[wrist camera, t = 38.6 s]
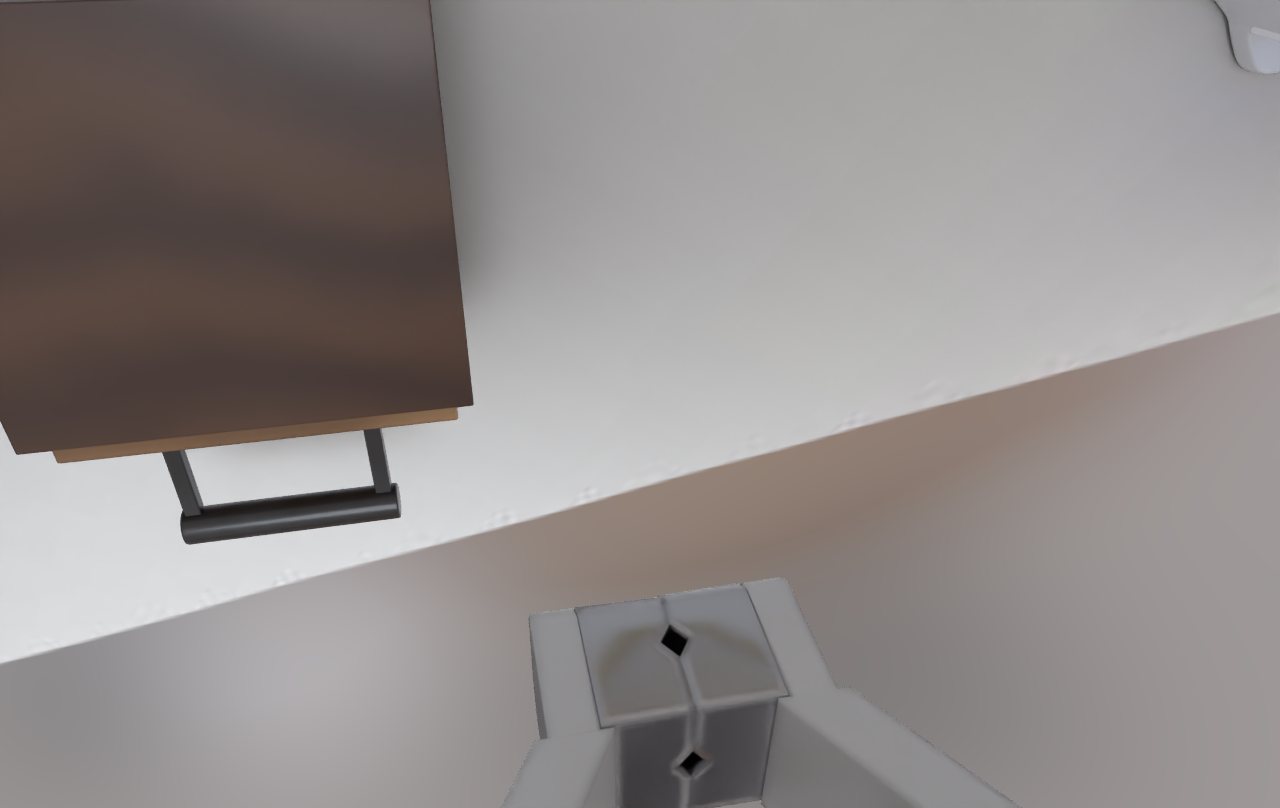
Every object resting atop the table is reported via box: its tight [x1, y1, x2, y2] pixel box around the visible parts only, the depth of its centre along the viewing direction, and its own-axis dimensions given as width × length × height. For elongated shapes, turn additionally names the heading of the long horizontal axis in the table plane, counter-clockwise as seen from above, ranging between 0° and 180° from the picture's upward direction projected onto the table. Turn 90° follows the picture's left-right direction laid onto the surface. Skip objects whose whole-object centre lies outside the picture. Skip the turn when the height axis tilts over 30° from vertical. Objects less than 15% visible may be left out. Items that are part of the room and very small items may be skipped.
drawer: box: [52, 407, 458, 545], centre depth 34 cm, size 18×13×7 cm
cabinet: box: [0, 0, 474, 455], centre depth 31 cm, size 14×15×9 cm
